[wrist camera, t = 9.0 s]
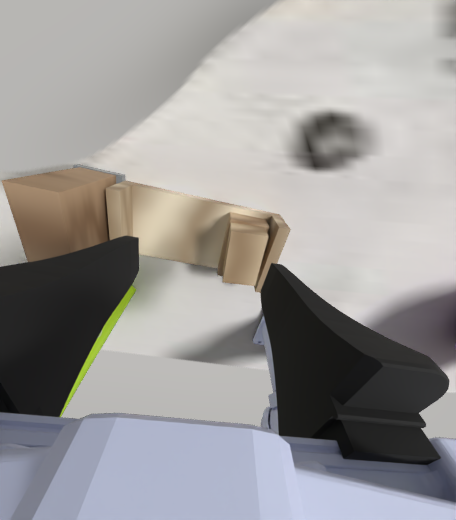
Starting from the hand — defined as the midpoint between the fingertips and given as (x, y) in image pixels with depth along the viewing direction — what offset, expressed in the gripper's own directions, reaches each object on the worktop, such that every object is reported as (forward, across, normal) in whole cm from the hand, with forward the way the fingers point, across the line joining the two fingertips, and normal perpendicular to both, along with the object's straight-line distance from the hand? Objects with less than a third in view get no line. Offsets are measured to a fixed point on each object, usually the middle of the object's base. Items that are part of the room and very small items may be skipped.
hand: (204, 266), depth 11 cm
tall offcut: (+10, +10, +2) cm, 14 cm away
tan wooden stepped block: (+10, +1, +2) cm, 11 cm away
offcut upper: (+7, -3, +2) cm, 8 cm away
